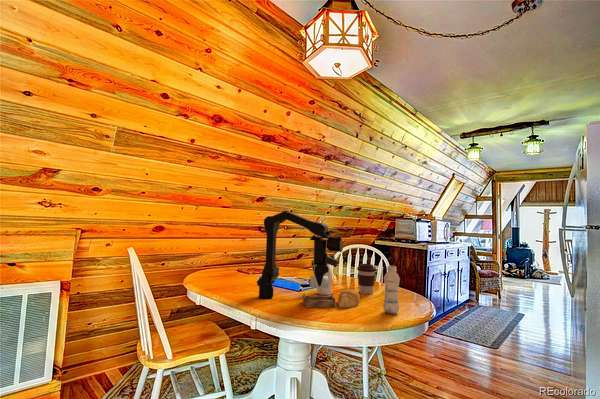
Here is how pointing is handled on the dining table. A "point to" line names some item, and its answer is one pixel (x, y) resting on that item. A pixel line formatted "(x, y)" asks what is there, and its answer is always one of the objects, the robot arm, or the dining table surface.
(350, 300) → the croissant
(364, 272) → the coffee cup
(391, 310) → the plastic bottle
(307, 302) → the tray
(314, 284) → the roll
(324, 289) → the milk bottle
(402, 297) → the dining table surface
